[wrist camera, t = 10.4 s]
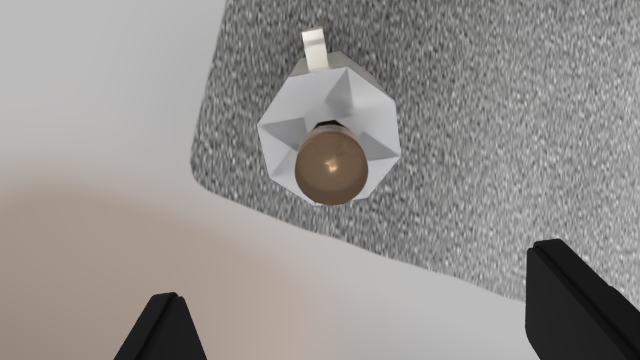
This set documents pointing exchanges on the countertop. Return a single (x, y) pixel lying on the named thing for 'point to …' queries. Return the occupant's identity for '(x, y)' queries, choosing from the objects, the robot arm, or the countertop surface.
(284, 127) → the press pot
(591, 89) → the countertop surface
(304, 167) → the plunger
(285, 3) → the countertop surface
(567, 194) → the countertop surface
